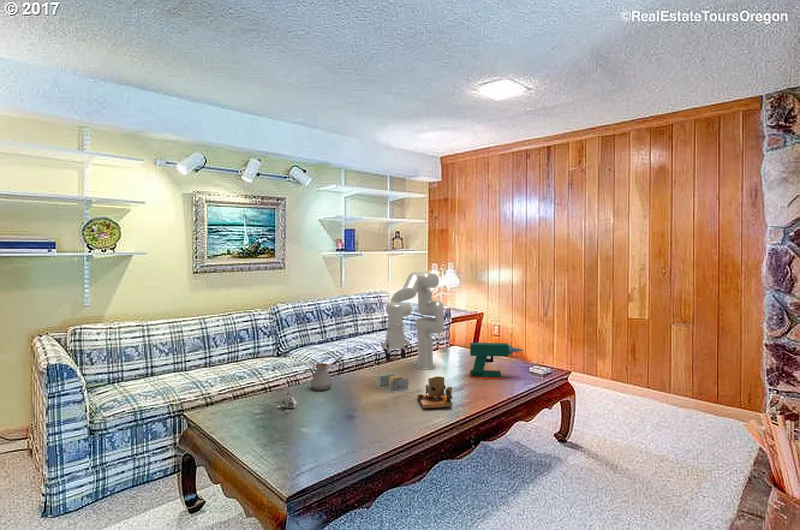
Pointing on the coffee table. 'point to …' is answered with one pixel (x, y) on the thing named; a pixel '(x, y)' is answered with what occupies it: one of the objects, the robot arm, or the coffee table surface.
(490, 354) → the power tool
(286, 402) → the grey craggy lump
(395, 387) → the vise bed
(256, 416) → the coffee table surface
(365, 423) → the coffee table surface
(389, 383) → the brass block
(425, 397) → the armchair
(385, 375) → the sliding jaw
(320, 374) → the coffee pot
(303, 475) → the coffee table surface
